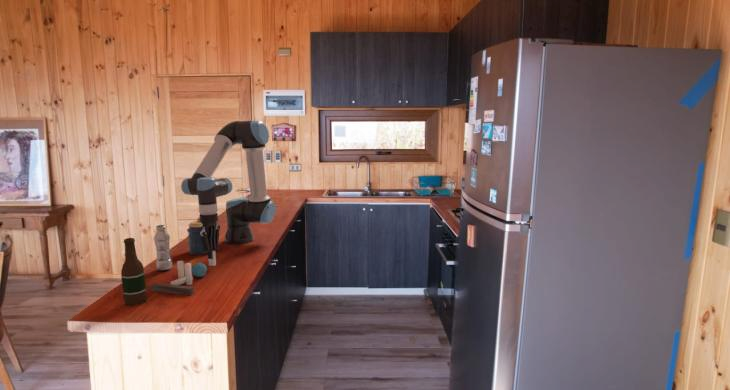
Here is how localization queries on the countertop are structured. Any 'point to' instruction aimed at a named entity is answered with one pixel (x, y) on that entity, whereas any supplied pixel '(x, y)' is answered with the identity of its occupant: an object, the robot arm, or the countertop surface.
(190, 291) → the dark grey rod
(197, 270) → the ball
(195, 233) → the canister
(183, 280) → the front pin
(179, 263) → the back pin
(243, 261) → the countertop surface
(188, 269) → the pin
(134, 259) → the beer bottle
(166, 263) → the plastic bottle
